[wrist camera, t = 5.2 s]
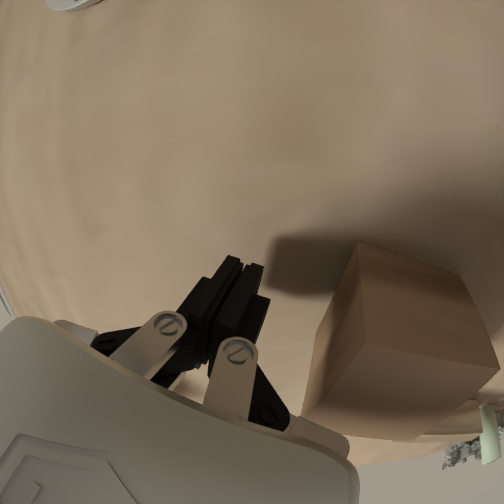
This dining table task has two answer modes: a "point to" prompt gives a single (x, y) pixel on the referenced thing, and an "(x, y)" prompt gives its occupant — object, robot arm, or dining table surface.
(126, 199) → the dining table surface
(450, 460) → the grey jagged open ring
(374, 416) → the walnut block
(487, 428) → the goal posts
